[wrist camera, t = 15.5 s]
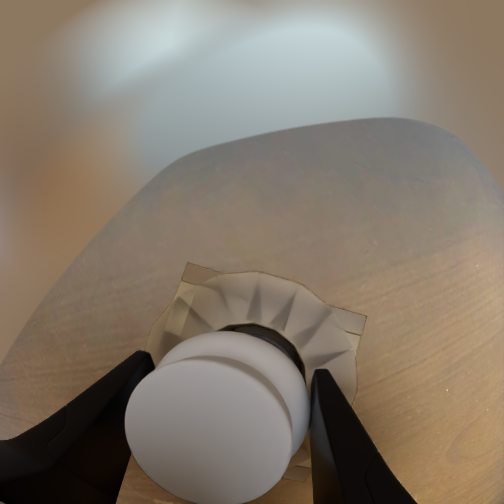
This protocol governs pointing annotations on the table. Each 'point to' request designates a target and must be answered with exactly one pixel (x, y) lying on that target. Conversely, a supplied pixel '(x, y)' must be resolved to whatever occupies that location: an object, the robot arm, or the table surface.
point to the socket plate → (268, 316)
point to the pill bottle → (219, 418)
